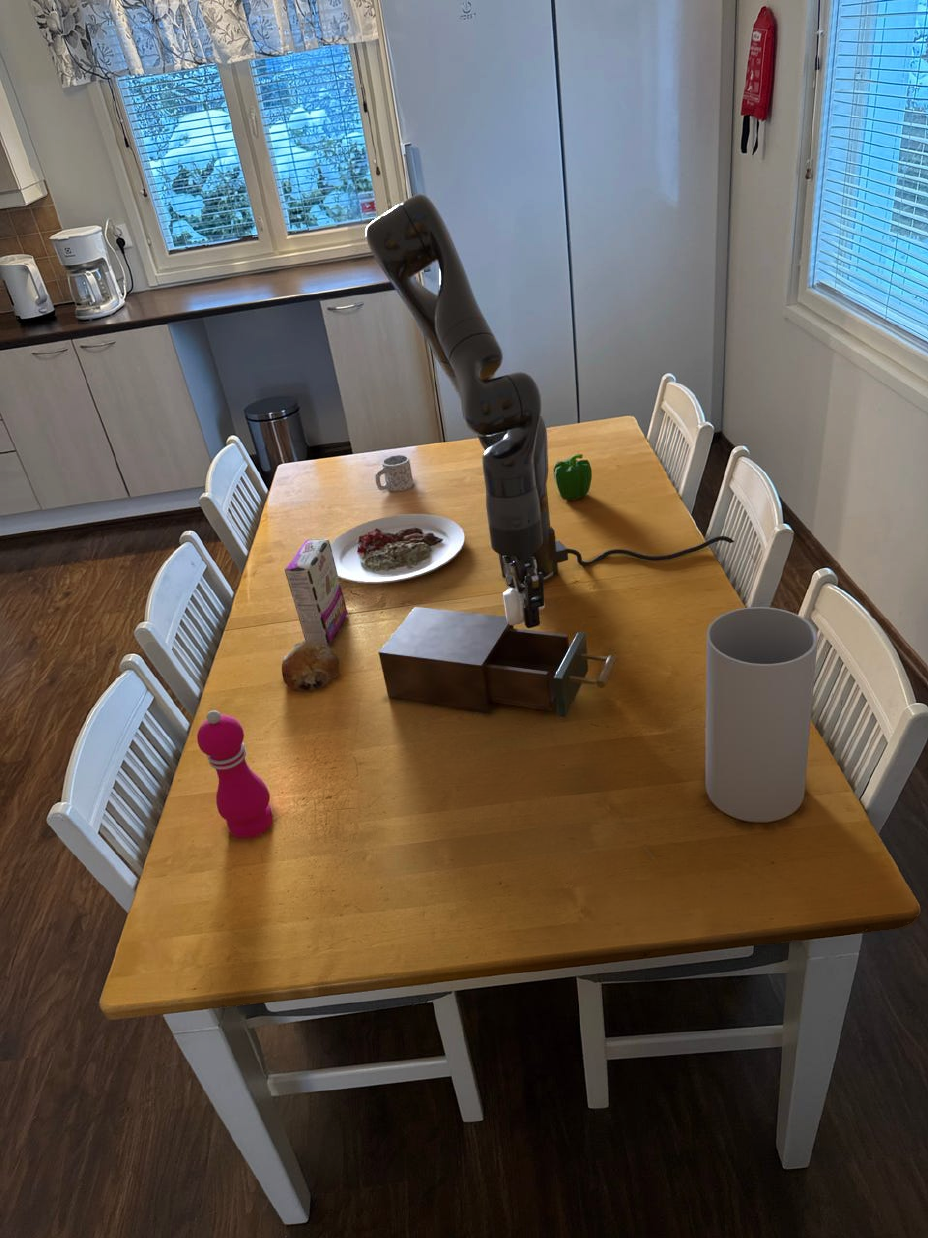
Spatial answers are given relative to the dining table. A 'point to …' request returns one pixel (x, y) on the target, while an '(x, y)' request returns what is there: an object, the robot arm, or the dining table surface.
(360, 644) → the dining table surface
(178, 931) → the dining table surface
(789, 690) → the cylinder vase
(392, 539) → the plated food
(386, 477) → the mug
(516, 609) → the garlic bulb
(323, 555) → the candy bar box
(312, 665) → the bread roll
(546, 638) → the drawer
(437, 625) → the cabinet
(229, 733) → the pepper mill
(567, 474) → the bell pepper
